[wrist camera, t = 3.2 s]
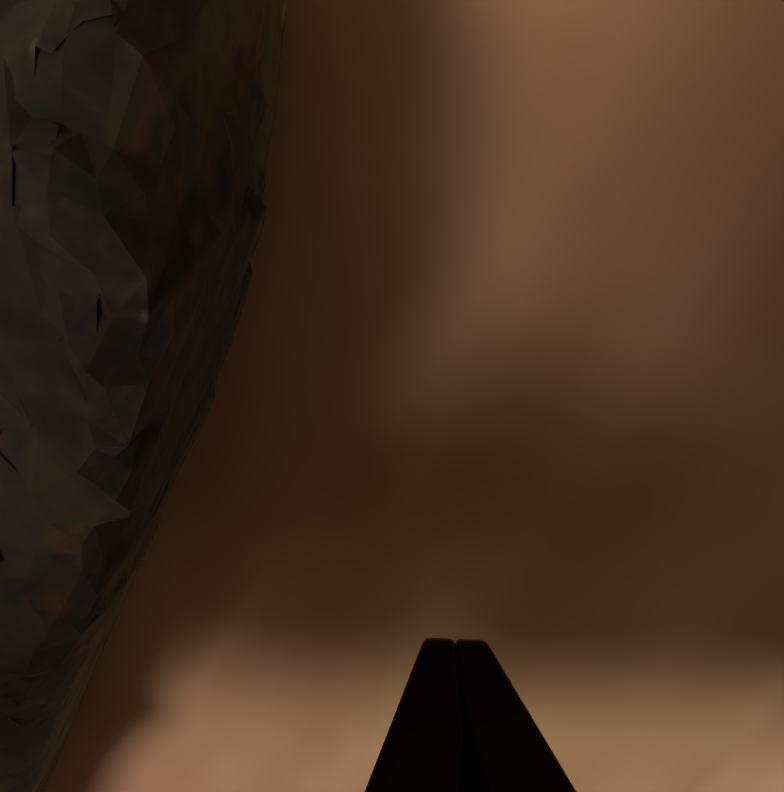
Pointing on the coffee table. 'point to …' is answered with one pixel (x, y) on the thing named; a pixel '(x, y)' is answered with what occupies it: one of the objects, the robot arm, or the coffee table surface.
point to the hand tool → (111, 307)
